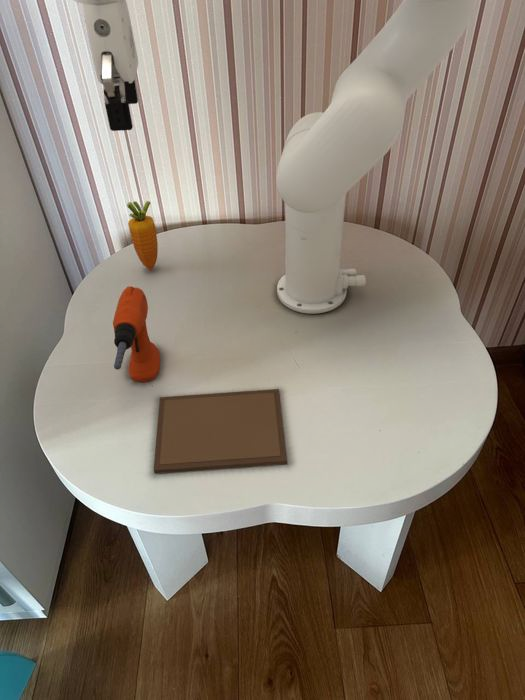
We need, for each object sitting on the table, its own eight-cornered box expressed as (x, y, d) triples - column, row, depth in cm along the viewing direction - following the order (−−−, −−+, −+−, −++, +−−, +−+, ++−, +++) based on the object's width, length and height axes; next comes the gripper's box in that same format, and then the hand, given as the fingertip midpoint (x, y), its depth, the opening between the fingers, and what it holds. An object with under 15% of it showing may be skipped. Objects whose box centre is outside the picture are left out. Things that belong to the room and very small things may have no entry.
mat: (278, 392, 86) (278, 388, 85) (286, 464, 77) (286, 460, 76) (160, 400, 86) (159, 396, 85) (154, 473, 76) (153, 469, 76)
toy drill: (116, 435, 79) (92, 351, 70) (133, 354, 94) (115, 275, 85) (151, 433, 79) (132, 348, 70) (162, 352, 94) (148, 273, 85)
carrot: (166, 262, 111) (153, 193, 100) (160, 278, 107) (146, 208, 97) (141, 262, 111) (126, 193, 101) (135, 277, 108) (118, 207, 97)
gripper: (122, 0, 67) (146, 139, 79) (134, -32, 80) (153, 93, 92) (59, 2, 67) (92, 142, 79) (81, -30, 79) (106, 95, 91)
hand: (125, 115), depth 85 cm, fingers open, 9 cm apart
